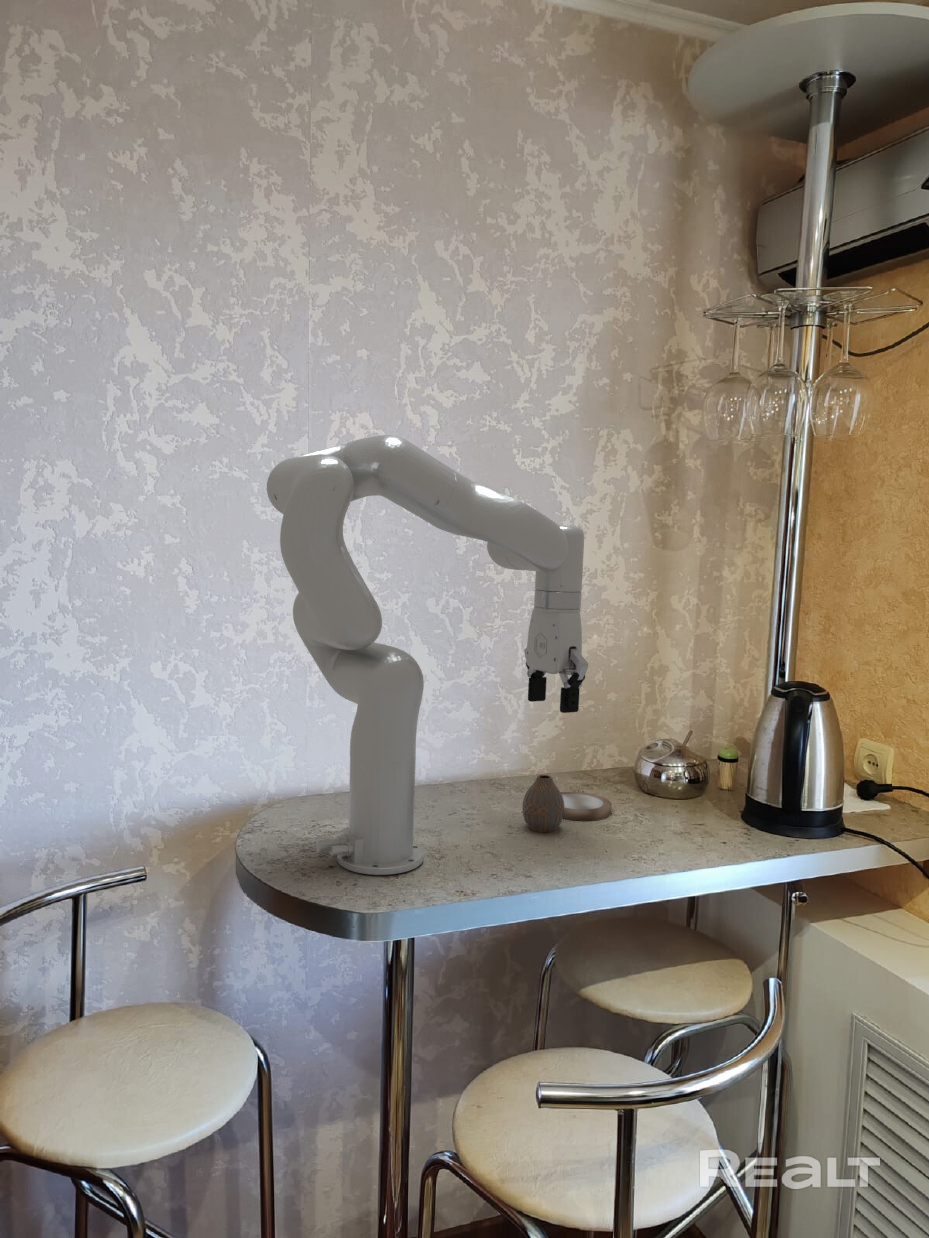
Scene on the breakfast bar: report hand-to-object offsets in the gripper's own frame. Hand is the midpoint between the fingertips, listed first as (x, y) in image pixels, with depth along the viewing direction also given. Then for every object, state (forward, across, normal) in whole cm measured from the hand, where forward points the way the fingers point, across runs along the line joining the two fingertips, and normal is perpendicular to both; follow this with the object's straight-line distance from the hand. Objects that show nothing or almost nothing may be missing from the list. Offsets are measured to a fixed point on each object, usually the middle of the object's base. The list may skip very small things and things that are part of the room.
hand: (552, 706), depth 145 cm
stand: (+20, -6, +10) cm, 24 cm away
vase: (+21, 0, -1) cm, 21 cm away
